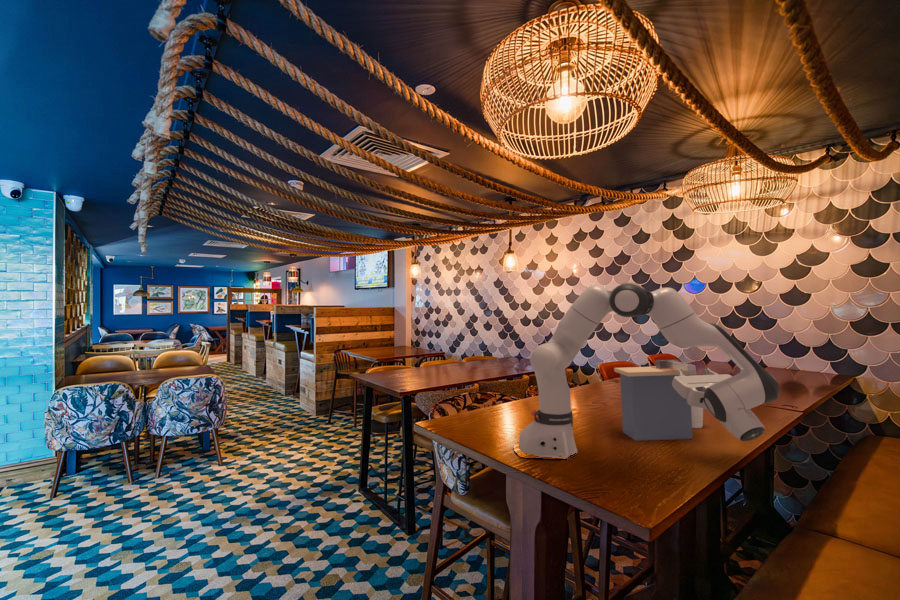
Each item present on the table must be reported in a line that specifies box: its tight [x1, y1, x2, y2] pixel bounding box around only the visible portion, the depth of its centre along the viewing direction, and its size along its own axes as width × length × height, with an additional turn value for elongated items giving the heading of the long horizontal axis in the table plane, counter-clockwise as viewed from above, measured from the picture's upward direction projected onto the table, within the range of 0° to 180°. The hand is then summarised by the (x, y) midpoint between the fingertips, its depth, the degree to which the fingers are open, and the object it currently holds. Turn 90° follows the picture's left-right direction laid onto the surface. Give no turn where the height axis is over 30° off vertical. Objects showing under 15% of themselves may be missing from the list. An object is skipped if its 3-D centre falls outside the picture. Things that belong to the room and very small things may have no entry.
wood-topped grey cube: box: [613, 365, 694, 442], centre depth 148 cm, size 26×12×26 cm, turn 90°
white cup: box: [691, 406, 704, 429], centre depth 158 cm, size 8×8×10 cm
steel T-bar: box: [655, 359, 697, 375], centre depth 142 cm, size 8×16×3 cm, turn 1°
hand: (692, 370), depth 134 cm, fingers open, 8 cm apart
